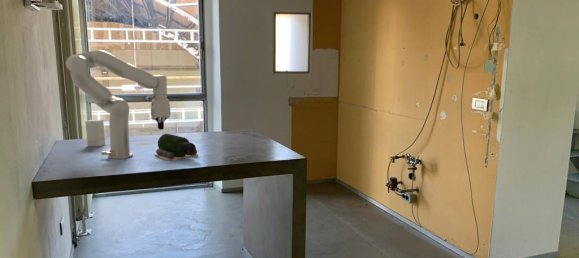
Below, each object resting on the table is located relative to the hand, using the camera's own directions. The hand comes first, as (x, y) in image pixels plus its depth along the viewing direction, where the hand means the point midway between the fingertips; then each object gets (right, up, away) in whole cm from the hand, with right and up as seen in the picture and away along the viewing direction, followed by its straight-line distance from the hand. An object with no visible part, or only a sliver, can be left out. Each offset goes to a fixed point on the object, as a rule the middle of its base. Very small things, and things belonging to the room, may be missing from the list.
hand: (160, 129), depth 248 cm
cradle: (+11, -15, -9) cm, 21 cm away
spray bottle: (+4, -8, -4) cm, 9 cm away
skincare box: (-43, -10, +15) cm, 47 cm away
